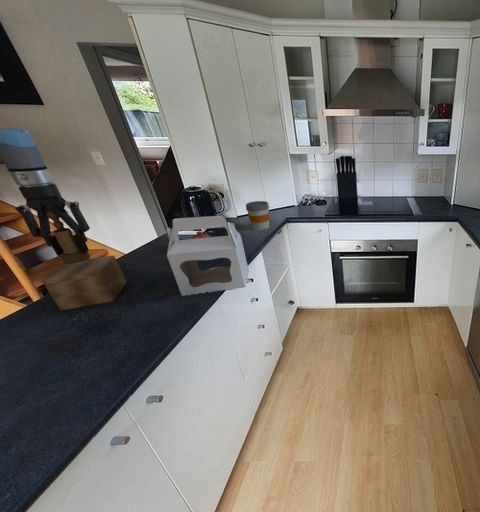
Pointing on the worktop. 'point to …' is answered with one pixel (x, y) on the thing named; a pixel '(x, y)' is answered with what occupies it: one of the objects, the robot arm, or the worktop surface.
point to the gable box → (206, 256)
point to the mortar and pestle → (67, 242)
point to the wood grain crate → (85, 282)
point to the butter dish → (200, 235)
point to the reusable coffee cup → (258, 214)
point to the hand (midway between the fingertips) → (73, 252)
